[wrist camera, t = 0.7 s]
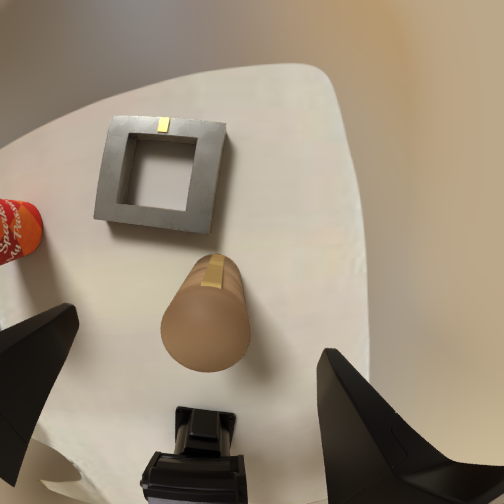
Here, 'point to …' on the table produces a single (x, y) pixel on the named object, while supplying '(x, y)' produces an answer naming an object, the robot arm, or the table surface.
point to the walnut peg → (208, 317)
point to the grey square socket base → (120, 166)
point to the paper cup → (18, 229)
